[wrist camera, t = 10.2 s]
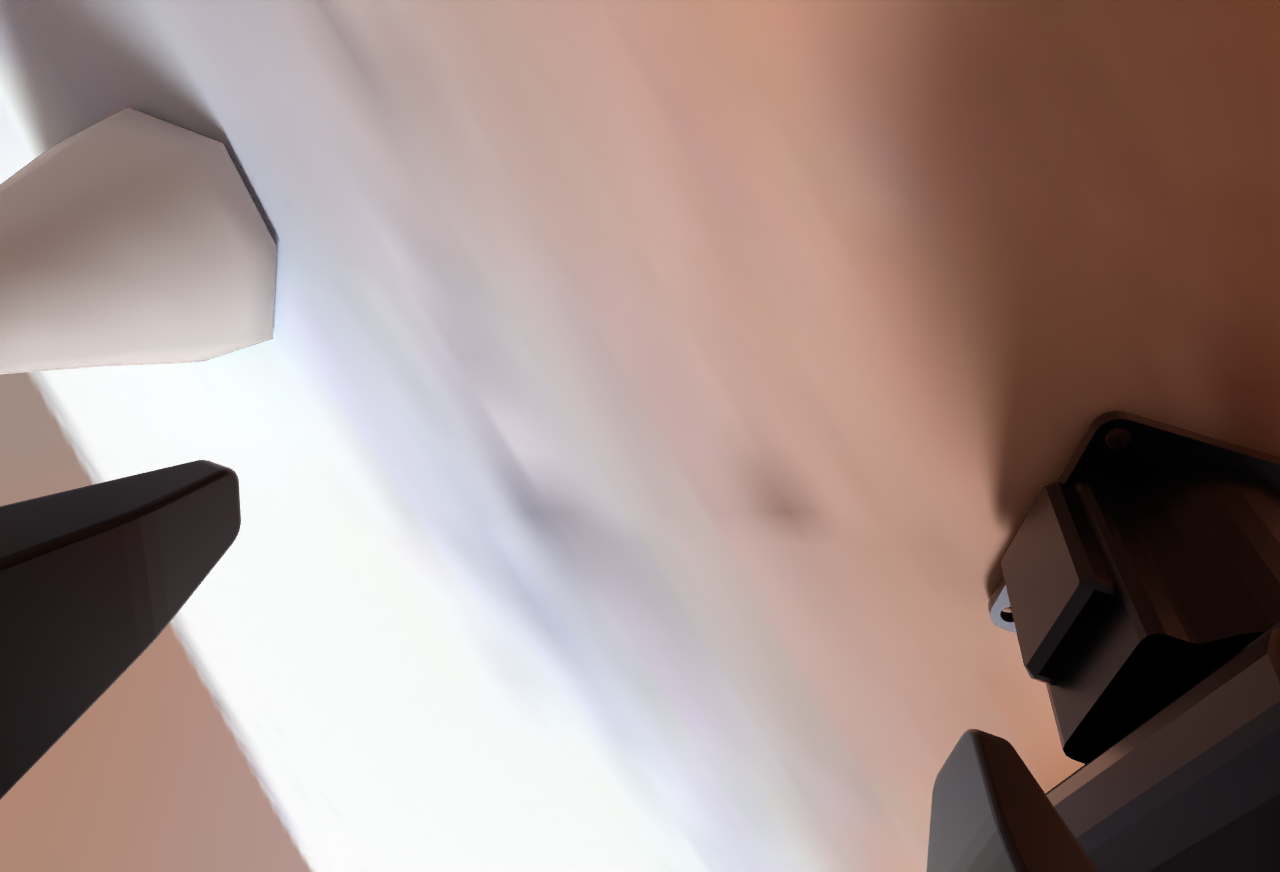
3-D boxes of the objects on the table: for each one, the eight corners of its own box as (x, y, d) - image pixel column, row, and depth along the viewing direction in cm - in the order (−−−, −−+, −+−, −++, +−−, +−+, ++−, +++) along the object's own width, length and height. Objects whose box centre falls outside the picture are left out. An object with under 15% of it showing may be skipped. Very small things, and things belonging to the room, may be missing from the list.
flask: (29, 107, 22) (-499, 162, 14) (250, 104, 21) (-196, 167, 12) (115, 350, 26) (-267, 517, 17) (312, 366, 24) (-4, 561, 15)
